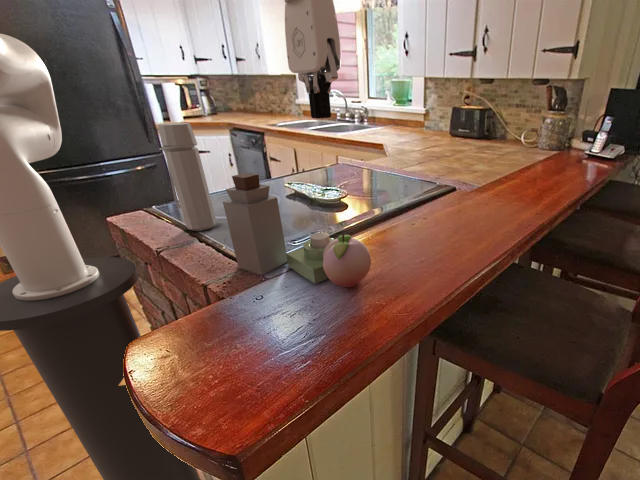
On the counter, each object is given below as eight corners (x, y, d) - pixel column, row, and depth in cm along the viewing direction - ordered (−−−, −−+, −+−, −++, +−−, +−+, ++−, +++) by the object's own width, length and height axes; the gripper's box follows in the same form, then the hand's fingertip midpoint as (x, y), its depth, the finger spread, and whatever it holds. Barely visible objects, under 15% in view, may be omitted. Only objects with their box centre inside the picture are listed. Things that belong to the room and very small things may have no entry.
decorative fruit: (375, 297, 61) (372, 242, 57) (326, 302, 60) (319, 247, 56) (369, 272, 70) (366, 223, 65) (326, 276, 68) (320, 226, 64)
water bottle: (224, 222, 96) (199, 122, 85) (205, 233, 90) (175, 125, 78) (193, 221, 98) (165, 122, 87) (172, 231, 91) (139, 125, 80)
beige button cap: (307, 245, 70) (306, 235, 69) (323, 240, 72) (322, 231, 71) (317, 251, 68) (316, 241, 67) (333, 245, 70) (332, 235, 69)
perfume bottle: (265, 255, 77) (248, 170, 69) (287, 261, 74) (272, 173, 66) (238, 267, 72) (216, 177, 64) (261, 275, 69) (242, 181, 61)
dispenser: (288, 266, 72) (284, 243, 70) (330, 252, 78) (327, 230, 76) (315, 284, 66) (311, 259, 63) (358, 266, 72) (357, 243, 69)
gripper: (264, -4, 59) (282, 117, 67) (312, -23, 49) (326, 121, 58) (304, 2, 64) (317, 115, 72) (356, -14, 54) (363, 118, 62)
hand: (321, 117), depth 65 cm, fingers closed
